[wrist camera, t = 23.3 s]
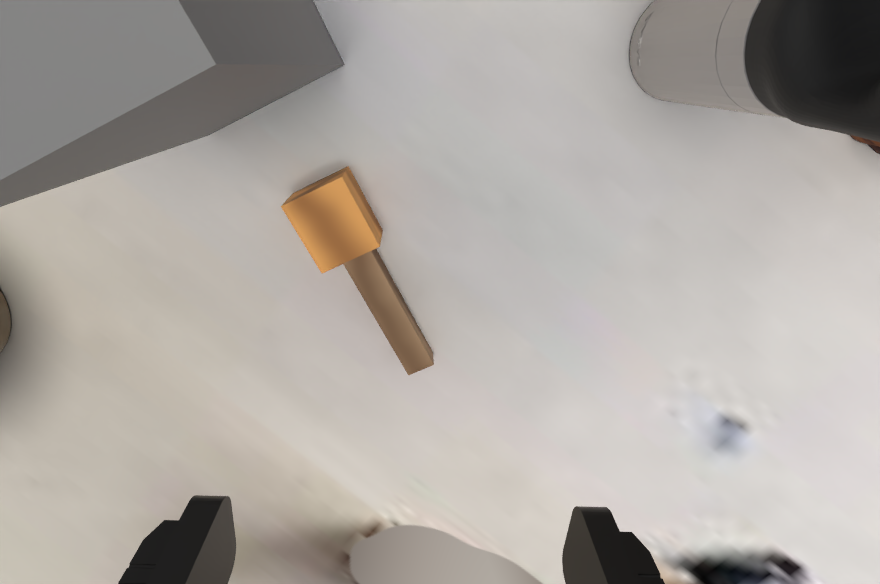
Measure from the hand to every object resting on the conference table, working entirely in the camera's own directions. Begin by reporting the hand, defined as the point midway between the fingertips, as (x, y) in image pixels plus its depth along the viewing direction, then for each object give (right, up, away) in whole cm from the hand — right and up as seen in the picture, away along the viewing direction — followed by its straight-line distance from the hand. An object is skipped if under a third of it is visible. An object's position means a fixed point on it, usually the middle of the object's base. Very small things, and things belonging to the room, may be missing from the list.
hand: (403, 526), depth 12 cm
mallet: (-6, +7, +41) cm, 42 cm away
